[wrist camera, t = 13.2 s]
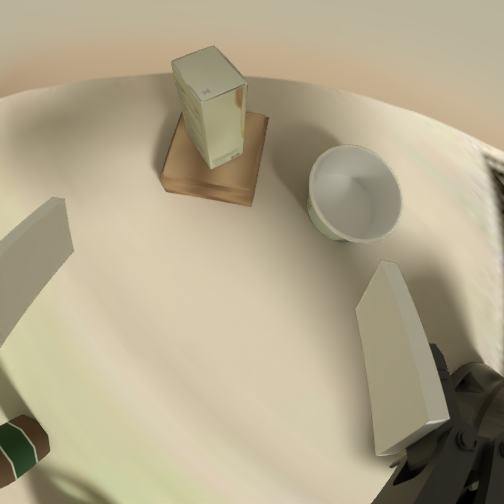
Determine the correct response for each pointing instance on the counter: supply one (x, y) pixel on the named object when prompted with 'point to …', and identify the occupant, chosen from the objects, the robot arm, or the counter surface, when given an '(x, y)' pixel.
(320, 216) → the food container
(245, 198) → the walnut base
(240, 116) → the skincare box
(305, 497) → the counter surface
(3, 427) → the beer bottle
